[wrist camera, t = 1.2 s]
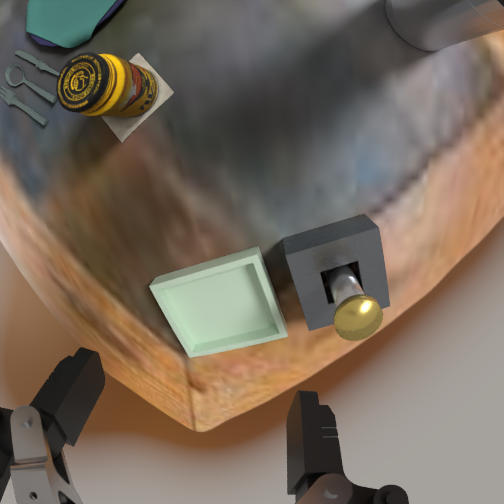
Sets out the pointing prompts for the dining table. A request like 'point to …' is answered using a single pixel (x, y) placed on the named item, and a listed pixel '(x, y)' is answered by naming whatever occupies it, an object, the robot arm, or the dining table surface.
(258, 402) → the dining table surface
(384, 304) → the socket block
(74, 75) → the condiment
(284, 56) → the dining table surface
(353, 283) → the pin
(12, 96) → the cutlery set
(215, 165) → the dining table surface
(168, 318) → the tray
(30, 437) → the robot arm
